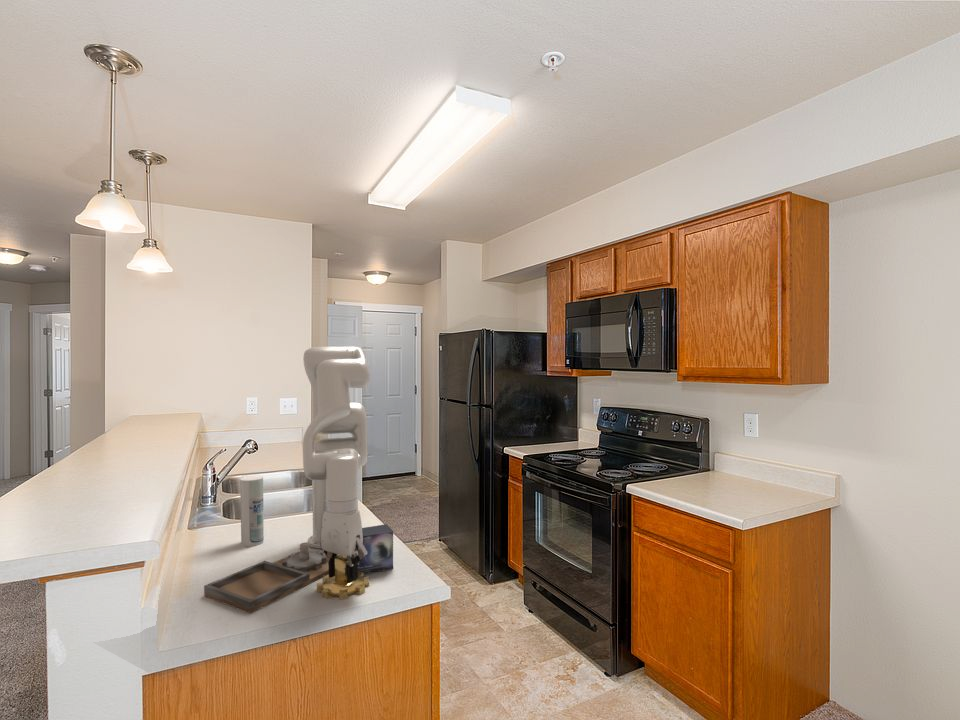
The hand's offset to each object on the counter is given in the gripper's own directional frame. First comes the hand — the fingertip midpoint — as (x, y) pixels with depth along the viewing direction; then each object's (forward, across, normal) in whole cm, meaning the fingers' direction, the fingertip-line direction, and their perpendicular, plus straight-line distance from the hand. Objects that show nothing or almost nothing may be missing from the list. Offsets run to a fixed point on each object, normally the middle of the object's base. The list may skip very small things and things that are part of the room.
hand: (343, 577), depth 128 cm
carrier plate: (+2, -18, -5) cm, 18 cm away
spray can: (+3, -46, +9) cm, 47 cm away
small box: (+3, -2, +12) cm, 12 cm away
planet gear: (+2, 0, 0) cm, 2 cm away
